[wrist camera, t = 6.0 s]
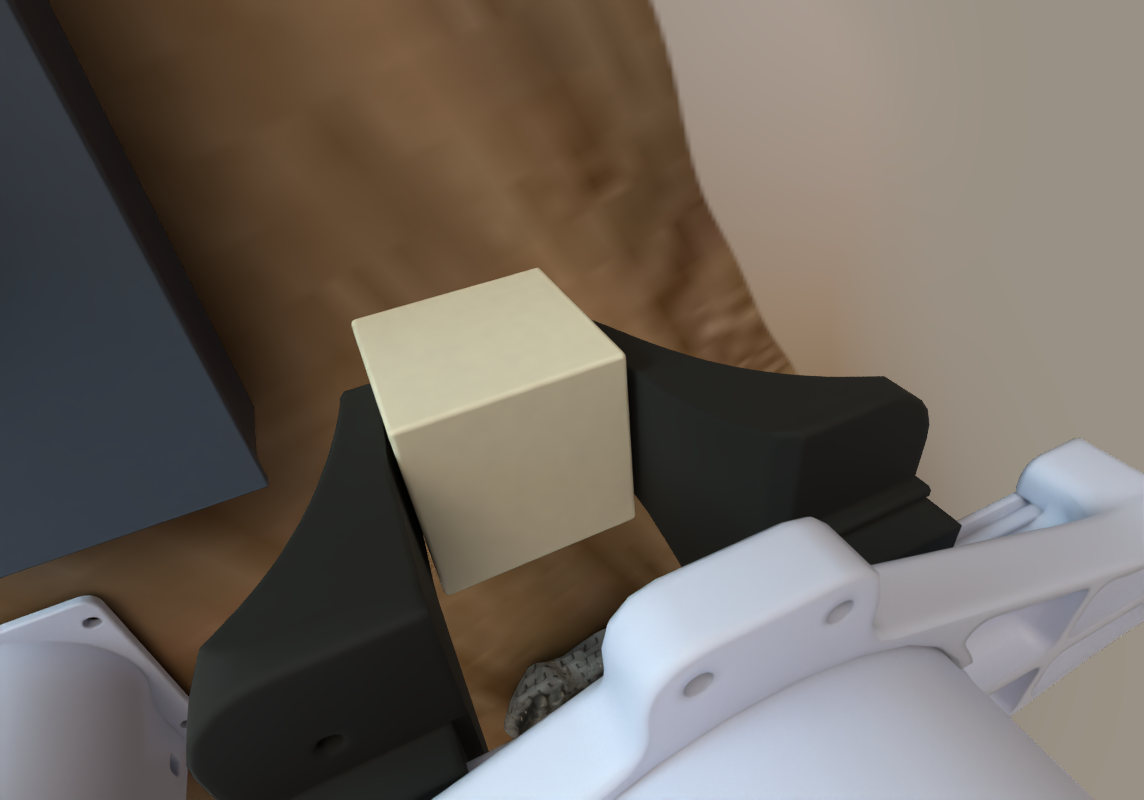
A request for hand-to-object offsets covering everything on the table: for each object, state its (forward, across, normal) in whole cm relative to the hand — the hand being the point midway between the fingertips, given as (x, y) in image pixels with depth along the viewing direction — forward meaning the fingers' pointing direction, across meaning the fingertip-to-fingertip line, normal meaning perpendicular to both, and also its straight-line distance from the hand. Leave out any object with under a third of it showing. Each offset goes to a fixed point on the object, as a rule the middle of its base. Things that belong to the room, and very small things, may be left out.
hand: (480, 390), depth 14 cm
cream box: (+1, 0, 0) cm, 1 cm away
